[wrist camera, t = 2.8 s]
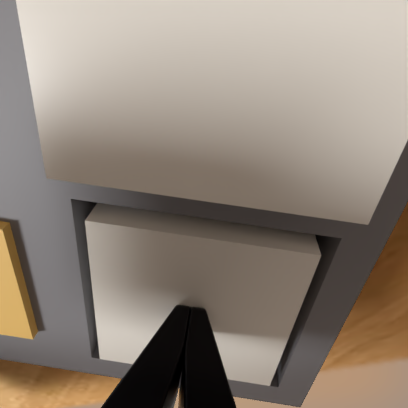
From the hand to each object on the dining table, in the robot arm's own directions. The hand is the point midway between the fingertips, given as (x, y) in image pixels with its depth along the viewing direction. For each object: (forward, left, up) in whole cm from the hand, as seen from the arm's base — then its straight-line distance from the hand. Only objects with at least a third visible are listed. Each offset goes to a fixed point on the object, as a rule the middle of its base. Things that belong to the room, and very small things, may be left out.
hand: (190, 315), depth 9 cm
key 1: (0, 0, -3) cm, 3 cm away
